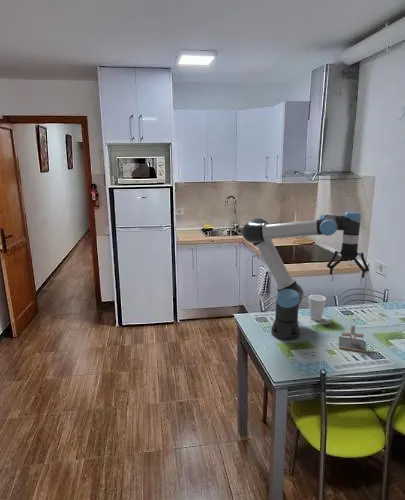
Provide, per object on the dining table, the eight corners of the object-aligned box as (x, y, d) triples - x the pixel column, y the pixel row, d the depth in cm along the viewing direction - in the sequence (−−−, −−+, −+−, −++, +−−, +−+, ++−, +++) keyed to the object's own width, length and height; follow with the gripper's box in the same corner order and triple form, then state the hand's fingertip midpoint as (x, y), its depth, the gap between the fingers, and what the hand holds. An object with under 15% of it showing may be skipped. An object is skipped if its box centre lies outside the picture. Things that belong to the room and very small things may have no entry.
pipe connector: (364, 350, 172) (366, 331, 170) (342, 347, 174) (344, 329, 172) (359, 340, 182) (361, 322, 179) (339, 338, 184) (341, 320, 181)
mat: (338, 348, 175) (339, 346, 174) (339, 337, 186) (339, 336, 185) (365, 353, 171) (365, 351, 170) (363, 341, 181) (364, 339, 181)
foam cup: (326, 321, 204) (328, 300, 201) (310, 321, 205) (311, 300, 201) (320, 314, 214) (322, 294, 211) (305, 314, 214) (307, 294, 211)
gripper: (323, 242, 181) (320, 281, 186) (377, 246, 172) (372, 287, 177) (324, 239, 187) (321, 277, 192) (376, 242, 179) (371, 282, 184)
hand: (346, 282), depth 185 cm, fingers open, 13 cm apart
